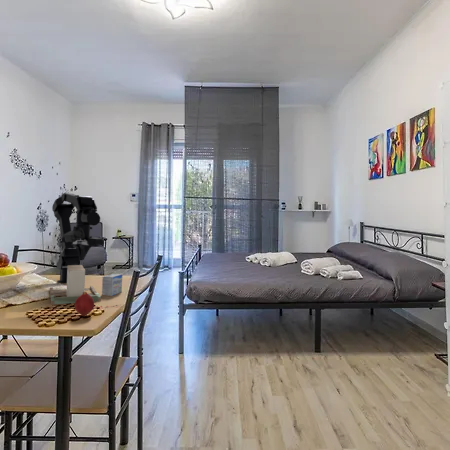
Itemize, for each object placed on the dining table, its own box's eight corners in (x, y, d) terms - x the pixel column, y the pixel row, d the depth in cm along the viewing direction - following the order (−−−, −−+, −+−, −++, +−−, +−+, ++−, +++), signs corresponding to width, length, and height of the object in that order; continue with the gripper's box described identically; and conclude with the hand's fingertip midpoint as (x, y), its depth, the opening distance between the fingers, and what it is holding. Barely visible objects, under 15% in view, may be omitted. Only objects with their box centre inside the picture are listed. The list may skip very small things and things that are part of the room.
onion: (77, 313, 115) (78, 289, 114) (95, 313, 115) (96, 289, 115) (71, 318, 109) (72, 292, 109) (90, 318, 109) (91, 293, 109)
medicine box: (111, 299, 135) (112, 277, 134) (101, 298, 135) (102, 276, 135) (121, 295, 142) (122, 274, 142) (111, 294, 143) (112, 273, 143)
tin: (66, 294, 133) (67, 265, 133) (80, 293, 135) (81, 265, 135) (68, 301, 122) (69, 270, 122) (84, 300, 125) (85, 269, 124)
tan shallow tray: (49, 293, 139) (49, 285, 139) (92, 291, 146) (92, 283, 146) (50, 308, 118) (51, 298, 118) (100, 305, 126) (101, 295, 126)
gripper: (52, 223, 148) (50, 259, 149) (86, 225, 141) (84, 264, 141) (72, 223, 158) (71, 257, 159) (105, 225, 151) (103, 261, 152)
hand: (81, 260), depth 152 cm, fingers closed
